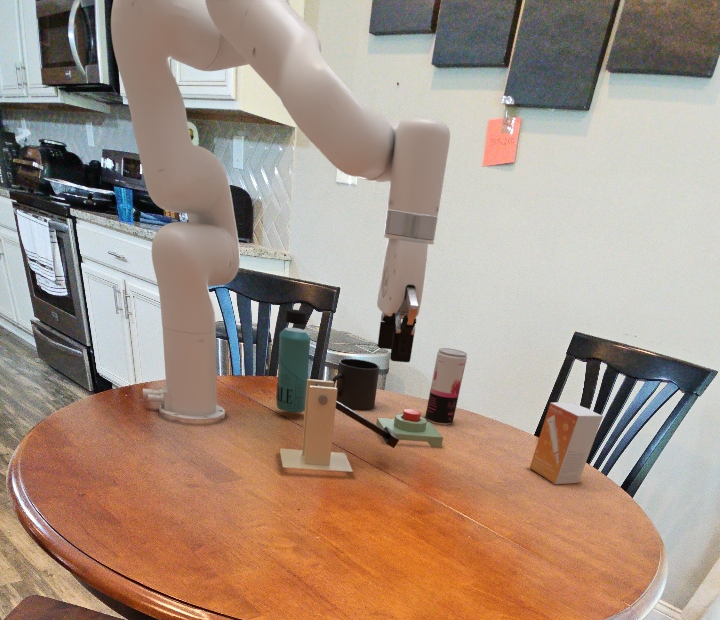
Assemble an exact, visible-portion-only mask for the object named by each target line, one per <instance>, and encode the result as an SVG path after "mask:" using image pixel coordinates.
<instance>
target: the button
mask: <svg viewBox="0 0 720 620" xmlns="http://www.w3.org/2000/svg"><path fill="white" fill-rule="evenodd" d="M402 414H403V417H402V419H404V420H407V421H412V422H419V421H420V417H421V415H422V413H421V411H420V410H417V409H412V408H406V409H403V412H402Z"/></svg>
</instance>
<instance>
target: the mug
mask: <svg viewBox="0 0 720 620" xmlns="http://www.w3.org/2000/svg"><path fill="white" fill-rule="evenodd" d="M380 369H381V368H380V366H379V364H377V363H375V362H372V361H368V360H364V359H357V358H342V359H339V360H338V366H337V374H336V375H334V376H333V378H332V380H331V381H333V382H334V388H337V399H336V401H338V402H340V403H341V404H343V405H345V406H346V407H348V408H349V409H351V410H353V411H369V410H373V409H374V407H375V404H376V397H377V389H378V383H379V374H380Z"/></svg>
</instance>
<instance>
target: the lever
mask: <svg viewBox="0 0 720 620" xmlns="http://www.w3.org/2000/svg"><path fill="white" fill-rule="evenodd" d="M315 386H321V385H320V384H318V383H316V385H315ZM335 410H337V411H339V412H341V413H342V414H344V415H346V416H347V417H349V418H350V419H353V420H354V421H355V422H358V423H359V424H361V425H362V426H364V427H365V428H367V429H369V430H370V431H372V432H374V433H376V434H377V435H379V436H380V437H382V439H383V441H384V443H385V445H387V446H389V447H391V448H392V449H395V448H396V446H397V444H398V443H399V442H400V440H399V439H398V438H397V436H396V435H395V433H394V432H393V430H391V429H389V428H388V427H386V426H385V428H384V429H382V428H380V427H379V426H377V425H376V423H374V422H373V421H371V420H370V419H367V418H366V417H364V416H363V415H361V414H359V413H358V412H356V411H355V410H353V409H349V408H348V407H346V406H345V405H343V404H341V403H340V402H338V401H336V409H335Z"/></svg>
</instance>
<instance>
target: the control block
mask: <svg viewBox="0 0 720 620" xmlns="http://www.w3.org/2000/svg"><path fill="white" fill-rule="evenodd" d="M402 417H403V413H397V414H395V416H394V418H386V417H376V423H375V424H376V425H377V426H379V427H380V428H382V429H384V428H385V426H386V427H388V428H389V429H391V430H393V432H394V433H395V435H396V436H397V438H398V439H399V441H413V442H427V443H428V445H429V446H430V447H431V448H439V449H440V448H442V445H443V440H444V436H443V435H442V434H441V433H440V432H439V430H438V429H437V428H436V427H435V426H434V424H433V423H432V422H429V421H428V420H427V419H426V418H424V417H422V416H420V421H419V422H412V421H407V420H404V419H402Z"/></svg>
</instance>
